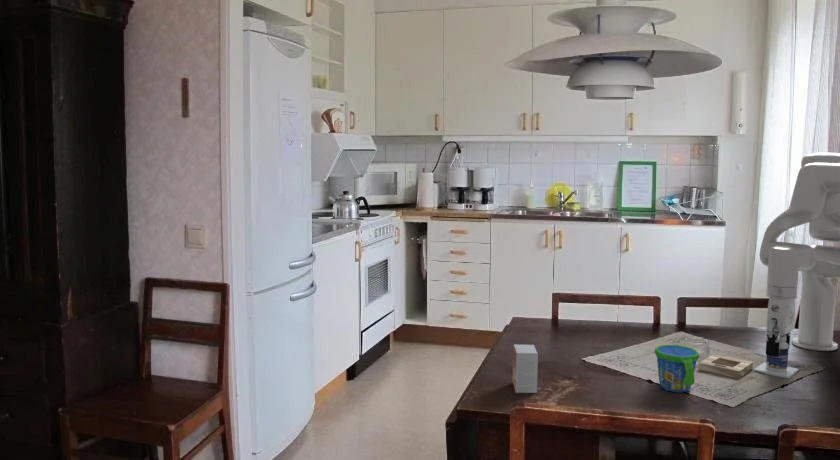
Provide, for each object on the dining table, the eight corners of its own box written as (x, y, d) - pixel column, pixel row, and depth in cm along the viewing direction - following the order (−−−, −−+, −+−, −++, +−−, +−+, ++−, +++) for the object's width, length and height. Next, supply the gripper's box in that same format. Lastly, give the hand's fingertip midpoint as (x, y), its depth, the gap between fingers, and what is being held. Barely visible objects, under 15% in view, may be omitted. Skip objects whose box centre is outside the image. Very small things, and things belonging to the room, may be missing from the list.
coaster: (764, 364, 210) (764, 362, 210) (798, 370, 204) (798, 368, 204) (754, 371, 204) (754, 369, 204) (788, 378, 198) (789, 376, 198)
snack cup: (706, 399, 182) (709, 359, 181) (664, 399, 182) (666, 359, 181) (684, 378, 198) (686, 342, 196) (645, 378, 198) (647, 341, 196)
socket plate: (713, 360, 213) (713, 353, 213) (752, 369, 206) (753, 361, 206) (698, 369, 205) (698, 362, 205) (739, 378, 198) (739, 370, 198)
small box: (512, 382, 194) (513, 343, 193) (533, 382, 194) (534, 344, 192) (515, 393, 186) (515, 352, 185) (537, 393, 186) (538, 353, 184)
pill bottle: (768, 371, 202) (770, 336, 201) (763, 365, 207) (765, 331, 206) (789, 372, 201) (791, 337, 200) (784, 366, 206) (786, 332, 205)
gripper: (786, 298, 192) (782, 361, 195) (805, 288, 205) (801, 348, 207) (756, 294, 197) (753, 356, 200) (776, 285, 210) (773, 343, 212)
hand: (777, 352), depth 203 cm, fingers open, 9 cm apart
